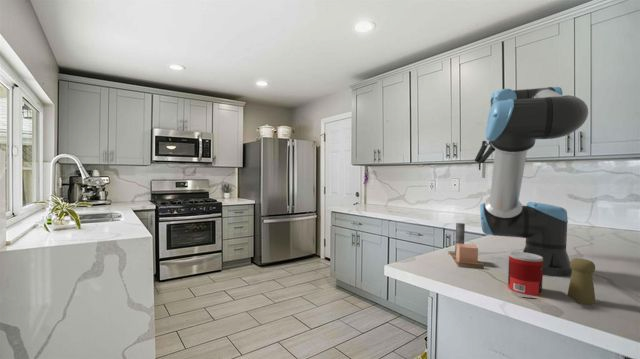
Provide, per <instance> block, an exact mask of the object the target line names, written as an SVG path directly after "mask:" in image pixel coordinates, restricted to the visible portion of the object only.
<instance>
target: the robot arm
mask: <svg viewBox="0 0 640 359" xmlns="http://www.w3.org/2000/svg"><path fill="white" fill-rule="evenodd" d="M489 103H490V110H489V112H488V116H487V121H486V127H485V139H486V140H482V143H481V147H480V148H479V150H478V152H477V155H475V156H476V157H475V158H474V162H475V163H478V170H479V171H480V173H479V174H480V178H481V179H485V178H486V168H487V167H486V165H487V164H486V163H485V162H486V160H488V158H489V157H490V156H491V155H492V153H494V158H493V169H492V178H491V187H490V196H489V197H488V198H486V200H485V202H484V203H480V206H479V211H480V212H479V213H480V226H481V231H482V232H483V234H485V235H488V236H494V237H496V236H498V237H508V238H521V239H525V245H524V248H523V250H522V252H525V253H531V254H536V255H539V256H541V257H543V275H547V276H553V277H567V276H571V275H572V269H571V267H570V262H571V259H570V257H569V254H568V252H567V241H568V240H567V239H568V238H567V237H568V223H569V220H568V219H569V218H568V212H567V209H566V208H564V207H562V206H557V205H553V204H552V205H551V204H546V203H541V202H536V201H535V202H534V201H527V202H526V204H525V205H522V204H523V203H522V202H520V193H521V188H522V183H523V176H524V173H525V172H524V171H525V167H526V166H525V165H526V161H527V155H528V154H527V153H528V151H530V150H531V149H532V148H534V146H535V144H536V140H552V139H553V140H554V139H560V138H562V137H566V136H568V135H570V134H573V133H575V131H577V130H579V129H580V128H581V127H582V126H583V125H585V123H586V121H587V119H588V116H589V108H588V105H587V104H586V102H585V101H584V100H583V99H581V98H579V97H577V96H574V95H568V94H567V95H563V89H562V88H561V87H560V86H548V87H540V88H539V87H537V88H530V89H529V88H526V89H524V88H523V89H514V90H513V89H510V88H503V89H500V90H498V91H494V92H492V93H491V96H490V102H489ZM488 146H489V147H488Z"/></svg>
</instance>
